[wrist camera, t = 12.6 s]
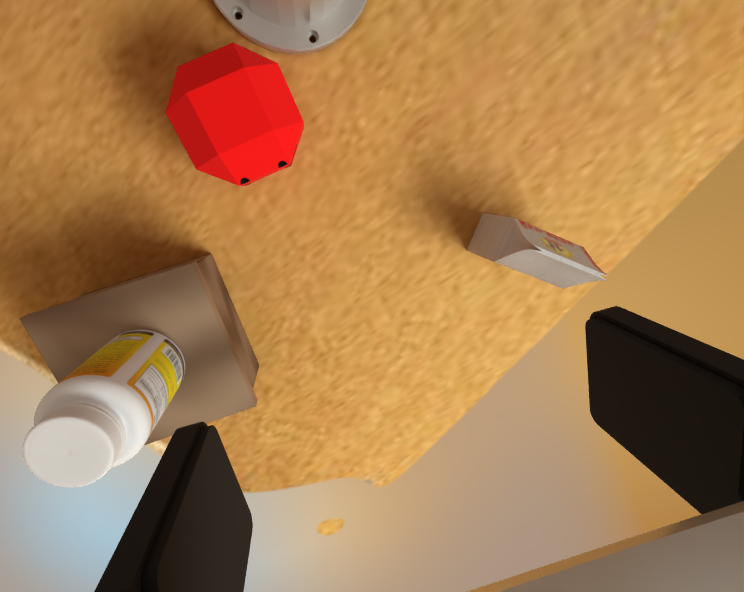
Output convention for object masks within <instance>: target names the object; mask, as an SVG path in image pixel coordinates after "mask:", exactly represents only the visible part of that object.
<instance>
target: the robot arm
mask: <svg viewBox="0 0 744 592" xmlns="http://www.w3.org/2000/svg"><path fill="white" fill-rule="evenodd" d="M213 1H214V3H215V5H216V6H217V8H218V9H219V11H220V12H221V13H222V14H223V16H224V17H225V18H226V20H227V21H228V22H229V23H230V24H231V25H232V26H233V27H234V28H235V29H236V30H237V31H238V32H239V33H241V34H242V35H243V36H244V37H246V38H247V39H249V40H251V41H252V42H254V43H255V44H257V45H259V46H261V47H264V48H266V49H269V50H271V51H274V52H279V53H284V54H308V53H312V52H316V51H320V50H322V49H324V48H326V47H329V46H331V45H333V44H334V43H336V42H337V41H338V40H339V39H341V38H342V37H343V36H345V35H346V34H347V33H348V31H349V30H350V29H351V28H352V27H353V26H354V24H355V23H356V22H357V20H358V18H359V17H360V15H361V13H362V11H363V9H364V8H365V5H366V2H367V0H213ZM238 14H241V15H242V19H240V20H237V19H236V15H238ZM311 37H314V38H315V39H316V42H315V43H311V42H310V40H309V39H310V38H311ZM585 327H586V328H585V329H586V345H587V346H586V347H587V365H588V381H589V382H588V383H589V399H590V412H591V415H592V417H593V419H594V421H595V422H596V423H597V424H598V425H599V426H600V427H601V428H602V429H603V430H605V431H606V432H607V433H608V434H609V435H610V436H611V437H613V438H614V439H615V440H616V441H617V442H618V443H620V444H621V445H622V446H623V447H624V448H625V449H626V450H628V451H629V452H630V453H631V454H632V455H634V456H635V457H636V458H637V459H638V460H639V461H640V462H642V463H643V464H644V465H645V466H646V467H647V468H649V469H650V470H651V471H652V472H653V473H654V474H656V475H657V476H658V477H659V478H660V479H661V480H663V481H664V482H665V483H666V484H667V485H668V486H670V487H671V488H672V489H673V490H674V491H675V492H676V493H678V494H679V495H680V496H681V497H682V498H684V499H685V500H686V501H687V502H688V503H689V504H690V505H692V506H693V507H694V508H695V509H697V510H698V511H699V512H700V513H701V514H702V515H699V516H696V517H692V518H689V519H687V520H683V521H680V522H677V523H674V524H671V525H668V526H665V527H662V528H659V529H656V530H652V531H649V532H647V533H643V534H640V535H637V536H634V537H631V538H628V539H625V540H622V541H618V542H616V543H612V544H609V545H606V546H603V547H601V548H597V549H594V550H591V551H589V552H585V553H582V554H579V555H576V556H573V557H570V558H567V559H564V560H561V561H558V562H555V563H552V564H549V565H546V566H543V567H540V568H537V569H534V570H531V571H528V572H525V573H522V574H519V575H516V576H513V577H510V578H507V579H504V580H501V581H498V582H495V583H492V584H489V585H486V586H483V587H480V588H477V589H474V590H471V591H468V592H744V360H743V359H741V358H738V357H736V356H734V355H731V354H729V353H726V352H724V351H722V350H719V349H717V348H715V347H712V346H710V345H708V344H705V343H703V342H701V341H698V340H696V339H694V338H691V337H689V336H687V335H684V334H682V333H679V332H677V331H675V330H672V329H670V328H668V327H665V326H663V325H661V324H658V323H656V322H654V321H651V320H649V319H647V318H644V317H642V316H640V315H637V314H635V313H633V312H630V311H628V310H626V309H623V308H621V307H617V306H615V307H611V308H607V309H604V310H600V311H596V312H593V313H592V314H591V316H590V319H589V320H588V321H587V322H586V326H585ZM252 525H253V524H252V516H251V513H250V510H249V508H248V505H247V502H246V500H245V498H244V495H243V493H242V490H241V488H240V485H239V483H238V480H237V478H236V476H235V473H234V471H233V468H232V466H231V463H230V461H229V458H228V456H227V454H226V451H225V449H224V446H223V444H222V441H221V439H220V436H219V434H218V432H217V429H216V428H215V426H213V425H211V426H207V424H206V423H205V422H203V421H202V422H198V423H195V424H191V425H188V426H184V427H180V428H177V429H176V431H175V432H174V434H173V436H172V438H171V440H170V442H169V444H168V446H167V448H166V450H165V452H164V454H163V456H162V458H161V460H160V462H159V464H158V466H157V468H156V470H155V472H154V474H153V476H152V478H151V480H150V482H149V484H148V486H147V488H146V490H145V492H144V494H143V496H142V498H141V500H140V502H139V504H138V506H137V508H136V510H135V512H134V514H133V516H132V518H131V520H130V522H129V524H128V526H127V528H126V530H125V532H124V534H123V536H122V538H121V540H120V542H119V544H118V546H117V548H116V550H115V552H114V554H113V556H112V558H111V560H110V562H109V564H108V566H107V568H106V570H105V572H104V574H103V576H102V578H101V580H100V582H99V584H98V586H97V588H96V590H95V591H94V592H243V590H244V583H245V576H246V570H247V563H248V556H249V549H250V542H251V536H252V528H253V526H252Z"/></svg>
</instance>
